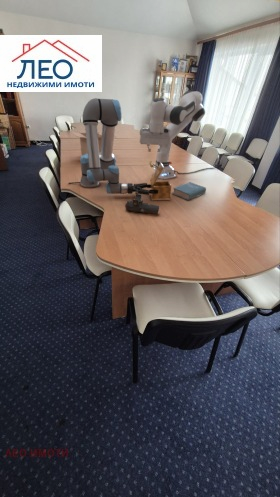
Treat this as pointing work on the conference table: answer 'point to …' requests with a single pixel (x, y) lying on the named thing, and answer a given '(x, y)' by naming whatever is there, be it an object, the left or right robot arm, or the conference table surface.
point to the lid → (156, 172)
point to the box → (84, 143)
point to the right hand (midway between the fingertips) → (154, 151)
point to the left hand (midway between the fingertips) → (156, 188)
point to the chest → (161, 190)
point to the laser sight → (141, 206)
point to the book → (189, 190)
